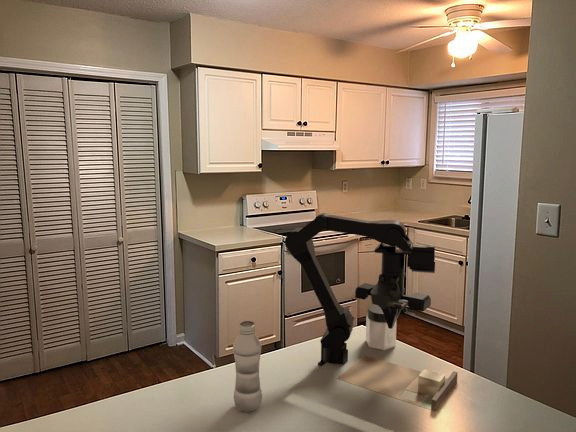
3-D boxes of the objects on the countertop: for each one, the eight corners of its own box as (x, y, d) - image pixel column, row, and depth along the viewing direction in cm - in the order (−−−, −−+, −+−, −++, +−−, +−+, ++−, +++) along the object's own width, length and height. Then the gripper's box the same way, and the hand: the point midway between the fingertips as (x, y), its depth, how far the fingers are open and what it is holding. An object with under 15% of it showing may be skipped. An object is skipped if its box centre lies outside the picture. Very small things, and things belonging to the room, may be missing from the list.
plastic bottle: (240, 418, 103) (239, 331, 100) (229, 403, 109) (227, 321, 106) (267, 411, 106) (266, 326, 103) (255, 397, 112) (254, 316, 109)
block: (417, 391, 112) (418, 375, 111) (423, 384, 115) (424, 369, 114) (438, 398, 109) (439, 381, 108) (444, 390, 112) (445, 375, 111)
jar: (379, 357, 133) (380, 316, 131) (359, 346, 140) (360, 308, 138) (401, 349, 138) (403, 310, 136) (381, 340, 145) (382, 302, 143)
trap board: (336, 384, 118) (336, 369, 118) (365, 360, 131) (365, 346, 130) (435, 417, 104) (436, 400, 103) (456, 387, 117) (457, 372, 116)
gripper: (345, 271, 119) (344, 329, 122) (416, 283, 109) (414, 347, 111) (365, 262, 128) (363, 317, 131) (432, 273, 118) (430, 332, 120)
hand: (390, 328), depth 123 cm, fingers closed
